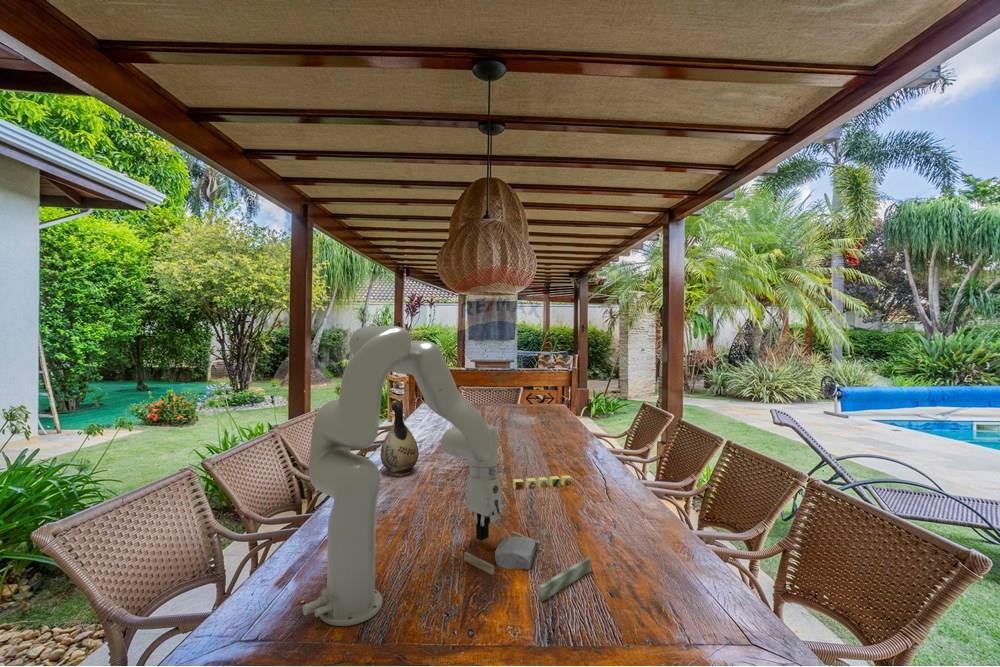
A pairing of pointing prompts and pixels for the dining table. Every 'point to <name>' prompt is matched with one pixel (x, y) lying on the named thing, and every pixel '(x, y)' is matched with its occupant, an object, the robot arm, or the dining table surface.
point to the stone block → (515, 553)
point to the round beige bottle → (399, 446)
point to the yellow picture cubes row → (542, 482)
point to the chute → (550, 585)
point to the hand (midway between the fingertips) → (482, 538)
